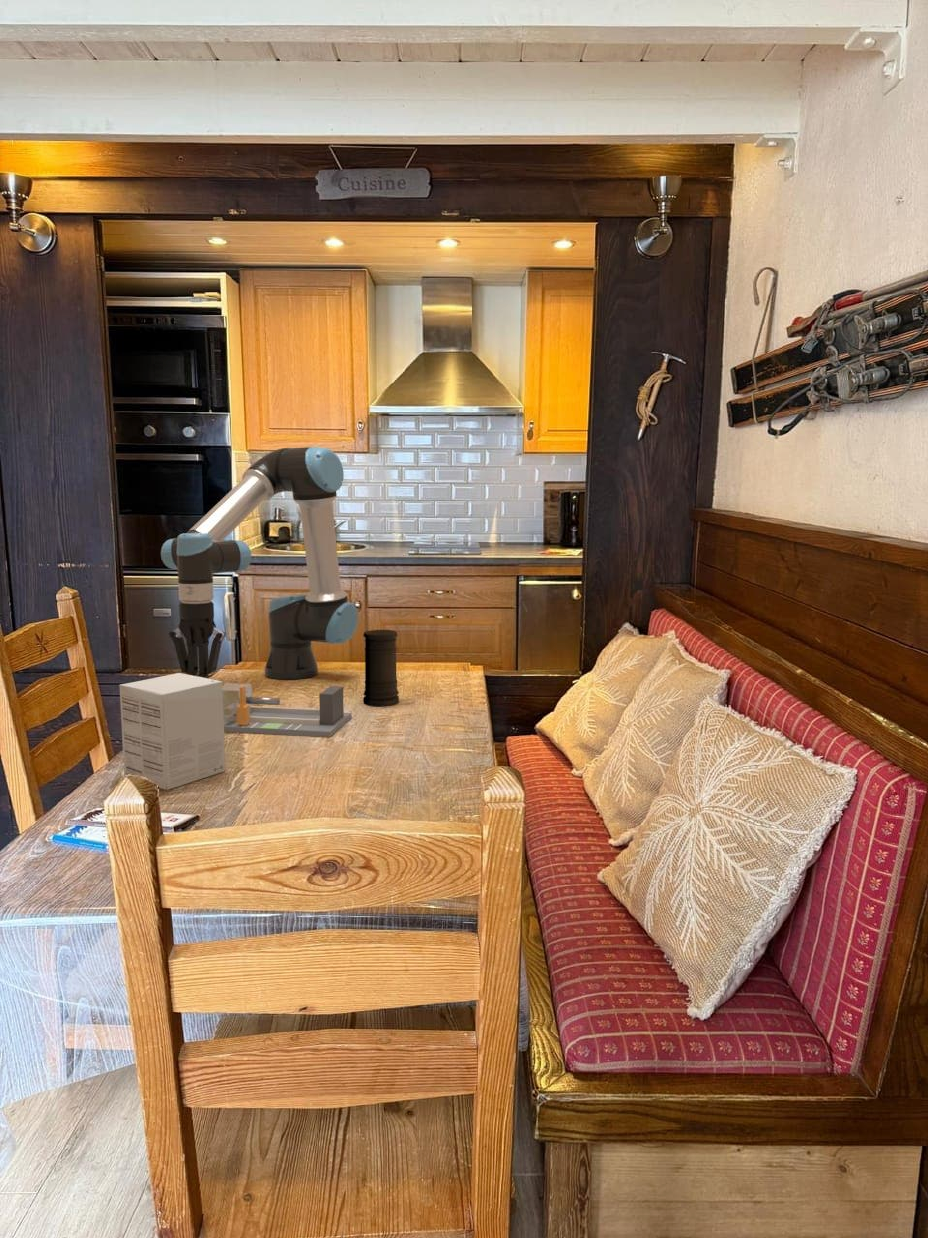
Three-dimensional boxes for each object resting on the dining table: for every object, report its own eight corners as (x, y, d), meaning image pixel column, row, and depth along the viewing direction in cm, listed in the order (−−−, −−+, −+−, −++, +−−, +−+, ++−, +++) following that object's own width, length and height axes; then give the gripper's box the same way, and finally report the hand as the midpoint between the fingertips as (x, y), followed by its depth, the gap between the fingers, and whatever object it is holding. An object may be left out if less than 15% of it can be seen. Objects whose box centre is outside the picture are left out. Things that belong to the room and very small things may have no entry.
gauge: (227, 710, 196) (226, 683, 195) (284, 712, 194) (284, 685, 193) (205, 723, 185) (204, 694, 184) (265, 726, 183) (264, 697, 182)
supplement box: (183, 758, 165) (179, 671, 162) (227, 771, 157) (223, 680, 155) (122, 776, 154) (117, 684, 151) (166, 791, 147) (161, 694, 144)
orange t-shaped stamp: (241, 722, 186) (240, 685, 185) (250, 722, 186) (249, 685, 184) (237, 724, 184) (235, 687, 182) (245, 725, 183) (244, 687, 182)
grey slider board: (222, 712, 200) (221, 678, 199) (351, 718, 195) (351, 683, 194) (191, 730, 185) (189, 694, 183) (330, 737, 180) (329, 700, 179)
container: (401, 698, 215) (401, 629, 212) (395, 707, 206) (395, 635, 203) (367, 697, 216) (366, 628, 213) (359, 706, 207) (358, 634, 204)
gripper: (161, 602, 187) (165, 705, 190) (216, 604, 185) (219, 708, 188) (177, 598, 194) (181, 698, 198) (230, 600, 193) (233, 700, 196)
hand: (199, 702), depth 193 cm, fingers closed
